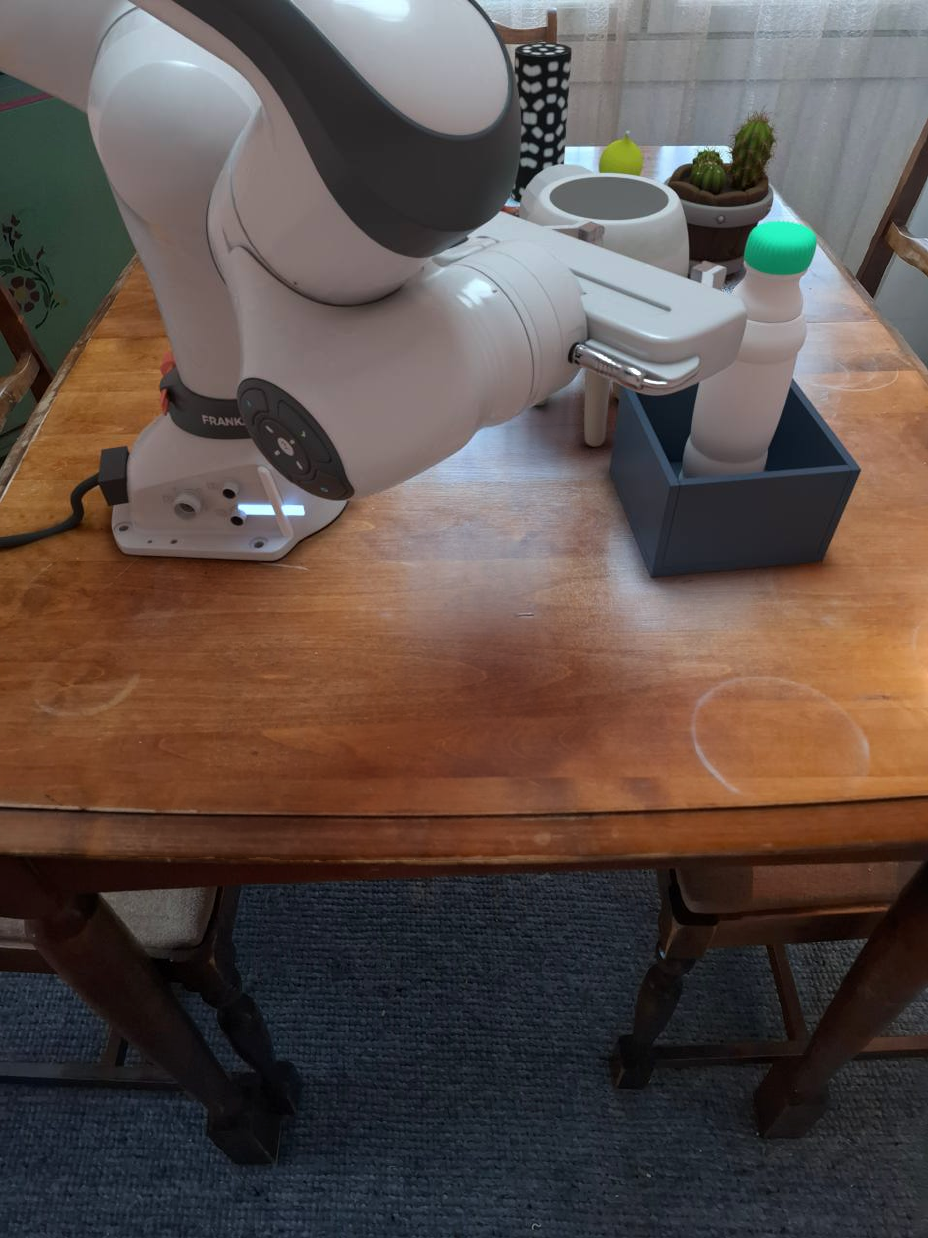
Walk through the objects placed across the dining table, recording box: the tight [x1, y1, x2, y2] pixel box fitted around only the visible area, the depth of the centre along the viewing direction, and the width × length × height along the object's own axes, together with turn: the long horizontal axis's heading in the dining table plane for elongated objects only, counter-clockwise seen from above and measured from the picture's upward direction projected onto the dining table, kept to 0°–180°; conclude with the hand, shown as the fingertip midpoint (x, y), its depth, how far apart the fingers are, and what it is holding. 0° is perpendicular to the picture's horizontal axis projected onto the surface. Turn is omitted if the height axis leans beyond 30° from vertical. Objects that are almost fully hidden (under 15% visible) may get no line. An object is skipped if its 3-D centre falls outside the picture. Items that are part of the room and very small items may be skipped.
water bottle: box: [678, 220, 818, 479], centre depth 65 cm, size 7×7×25 cm
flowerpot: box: [662, 103, 782, 281], centre depth 105 cm, size 14×15×20 cm
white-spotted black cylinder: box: [510, 42, 573, 203], centre depth 124 cm, size 8×8×20 cm
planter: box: [527, 172, 689, 448], centre depth 79 cm, size 16×16×22 cm
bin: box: [608, 377, 862, 578], centre depth 72 cm, size 16×16×10 cm
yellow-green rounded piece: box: [598, 130, 644, 177], centre depth 130 cm, size 7×7×10 cm
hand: (652, 253), depth 52 cm, fingers open, 8 cm apart
